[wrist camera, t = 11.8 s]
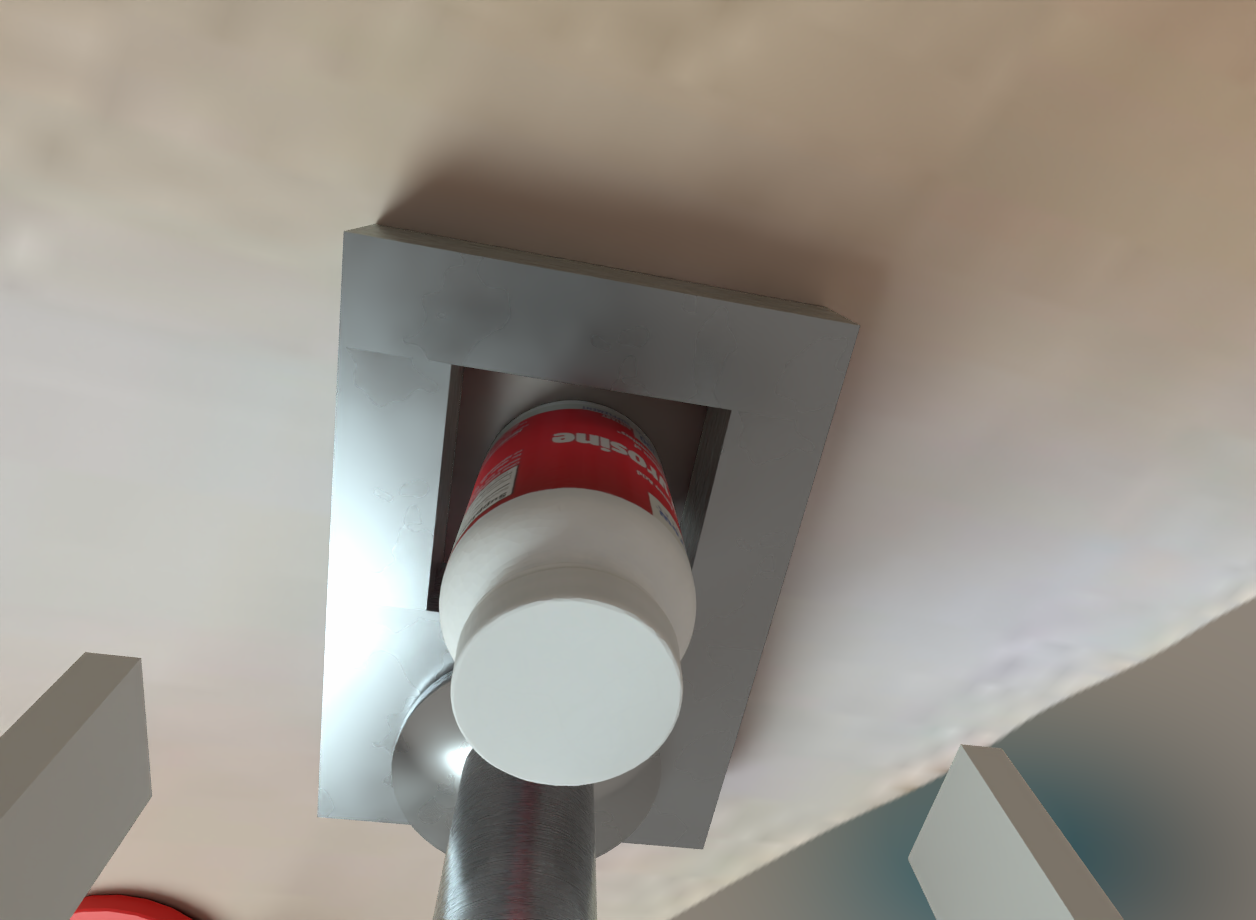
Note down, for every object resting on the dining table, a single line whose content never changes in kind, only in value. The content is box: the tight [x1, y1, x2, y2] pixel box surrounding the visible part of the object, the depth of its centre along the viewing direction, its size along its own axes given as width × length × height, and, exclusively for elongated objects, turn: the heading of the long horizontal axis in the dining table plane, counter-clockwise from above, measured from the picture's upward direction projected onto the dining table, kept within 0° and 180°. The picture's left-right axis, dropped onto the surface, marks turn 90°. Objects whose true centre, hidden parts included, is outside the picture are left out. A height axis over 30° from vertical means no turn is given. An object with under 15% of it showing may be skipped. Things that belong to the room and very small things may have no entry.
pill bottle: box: [439, 400, 696, 786], centre depth 20 cm, size 6×6×11 cm
